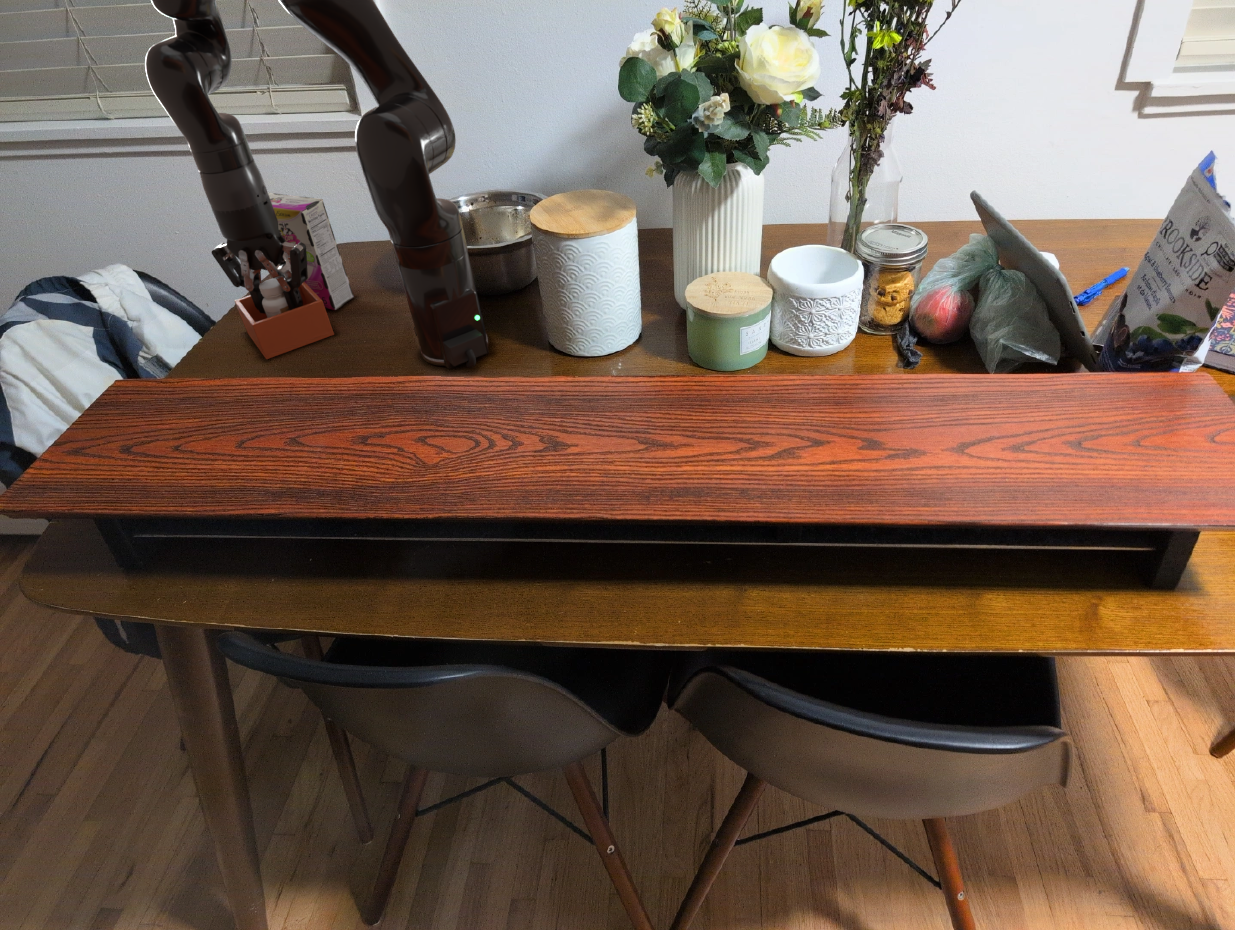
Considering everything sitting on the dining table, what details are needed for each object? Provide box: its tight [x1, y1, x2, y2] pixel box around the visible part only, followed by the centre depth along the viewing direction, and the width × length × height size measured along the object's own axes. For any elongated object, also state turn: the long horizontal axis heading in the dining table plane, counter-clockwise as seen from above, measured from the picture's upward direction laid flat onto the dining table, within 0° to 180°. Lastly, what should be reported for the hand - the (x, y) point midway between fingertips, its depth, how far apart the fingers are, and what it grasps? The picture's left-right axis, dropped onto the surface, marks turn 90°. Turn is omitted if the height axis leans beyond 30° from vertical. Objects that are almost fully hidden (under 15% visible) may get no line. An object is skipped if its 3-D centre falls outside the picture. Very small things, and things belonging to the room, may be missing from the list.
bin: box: [233, 282, 335, 360], centre depth 125 cm, size 10×10×6 cm
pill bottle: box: [259, 277, 290, 318], centre depth 124 cm, size 4×4×8 cm
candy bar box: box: [268, 192, 354, 311], centre depth 130 cm, size 11×5×16 cm, turn 65°
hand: (281, 310), depth 125 cm, fingers closed on pill bottle, 4 cm apart
